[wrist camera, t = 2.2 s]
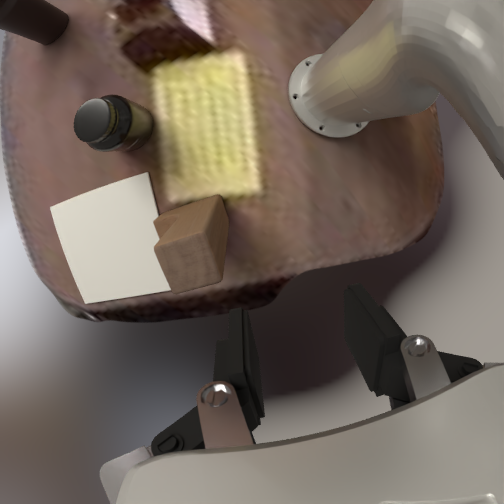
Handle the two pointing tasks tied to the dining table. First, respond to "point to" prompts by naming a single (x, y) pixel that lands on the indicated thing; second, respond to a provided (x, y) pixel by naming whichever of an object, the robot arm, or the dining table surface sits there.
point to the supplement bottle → (113, 124)
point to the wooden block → (193, 244)
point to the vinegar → (32, 19)
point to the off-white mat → (112, 240)
